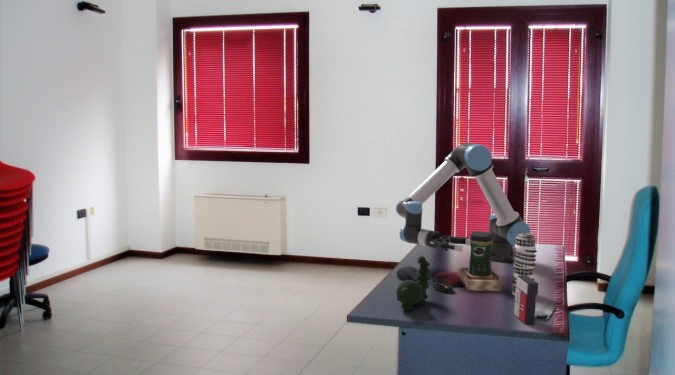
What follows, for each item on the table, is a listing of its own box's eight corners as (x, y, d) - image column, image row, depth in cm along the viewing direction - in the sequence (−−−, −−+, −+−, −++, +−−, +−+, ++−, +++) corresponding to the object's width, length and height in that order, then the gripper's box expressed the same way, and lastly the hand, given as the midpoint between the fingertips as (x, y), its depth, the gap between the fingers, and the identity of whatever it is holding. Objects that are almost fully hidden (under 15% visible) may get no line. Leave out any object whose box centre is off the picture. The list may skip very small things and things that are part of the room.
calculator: (512, 314, 234) (515, 274, 232) (524, 314, 234) (526, 274, 232) (524, 325, 223) (526, 283, 221) (536, 324, 224) (538, 283, 222)
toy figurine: (411, 300, 254) (388, 312, 232) (414, 253, 254) (392, 260, 231) (434, 304, 250) (413, 316, 228) (437, 256, 249) (416, 263, 227)
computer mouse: (405, 274, 288) (406, 262, 288) (460, 291, 263) (461, 278, 262) (390, 277, 282) (390, 265, 282) (444, 295, 257) (445, 282, 257)
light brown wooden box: (489, 277, 284) (490, 266, 284) (501, 290, 264) (502, 278, 264) (458, 277, 284) (458, 265, 283) (467, 290, 264) (468, 278, 264)
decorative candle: (535, 292, 263) (539, 233, 260) (532, 298, 255) (536, 237, 251) (512, 289, 267) (516, 230, 264) (509, 295, 258) (512, 234, 255)
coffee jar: (492, 273, 276) (495, 231, 273) (488, 277, 268) (491, 234, 266) (470, 270, 280) (472, 229, 277) (466, 274, 272) (468, 232, 270)
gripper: (445, 242, 300) (485, 250, 285) (413, 250, 282) (453, 259, 267) (446, 227, 299) (486, 234, 284) (413, 234, 281) (454, 241, 266)
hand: (470, 246), depth 276 cm, fingers open, 13 cm apart
